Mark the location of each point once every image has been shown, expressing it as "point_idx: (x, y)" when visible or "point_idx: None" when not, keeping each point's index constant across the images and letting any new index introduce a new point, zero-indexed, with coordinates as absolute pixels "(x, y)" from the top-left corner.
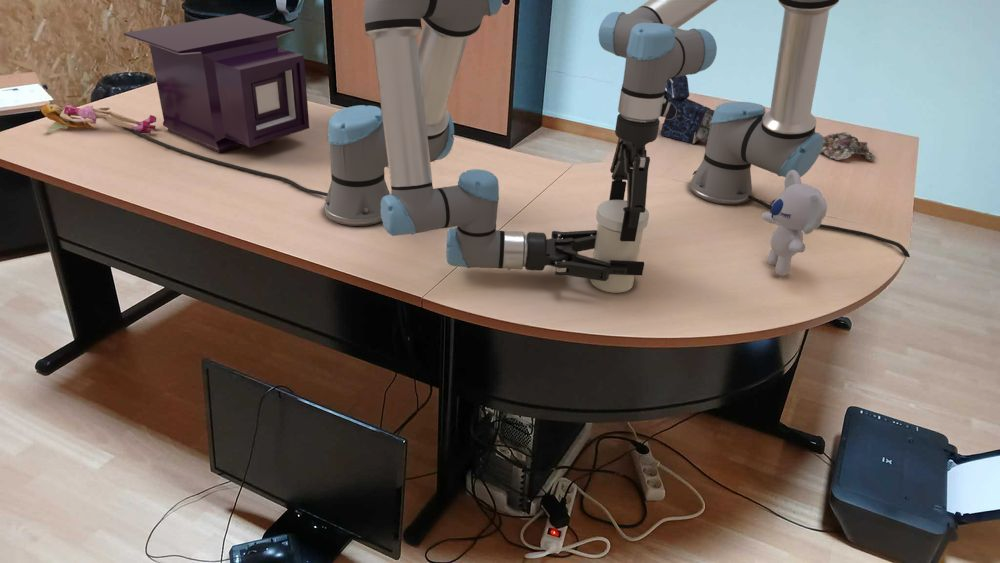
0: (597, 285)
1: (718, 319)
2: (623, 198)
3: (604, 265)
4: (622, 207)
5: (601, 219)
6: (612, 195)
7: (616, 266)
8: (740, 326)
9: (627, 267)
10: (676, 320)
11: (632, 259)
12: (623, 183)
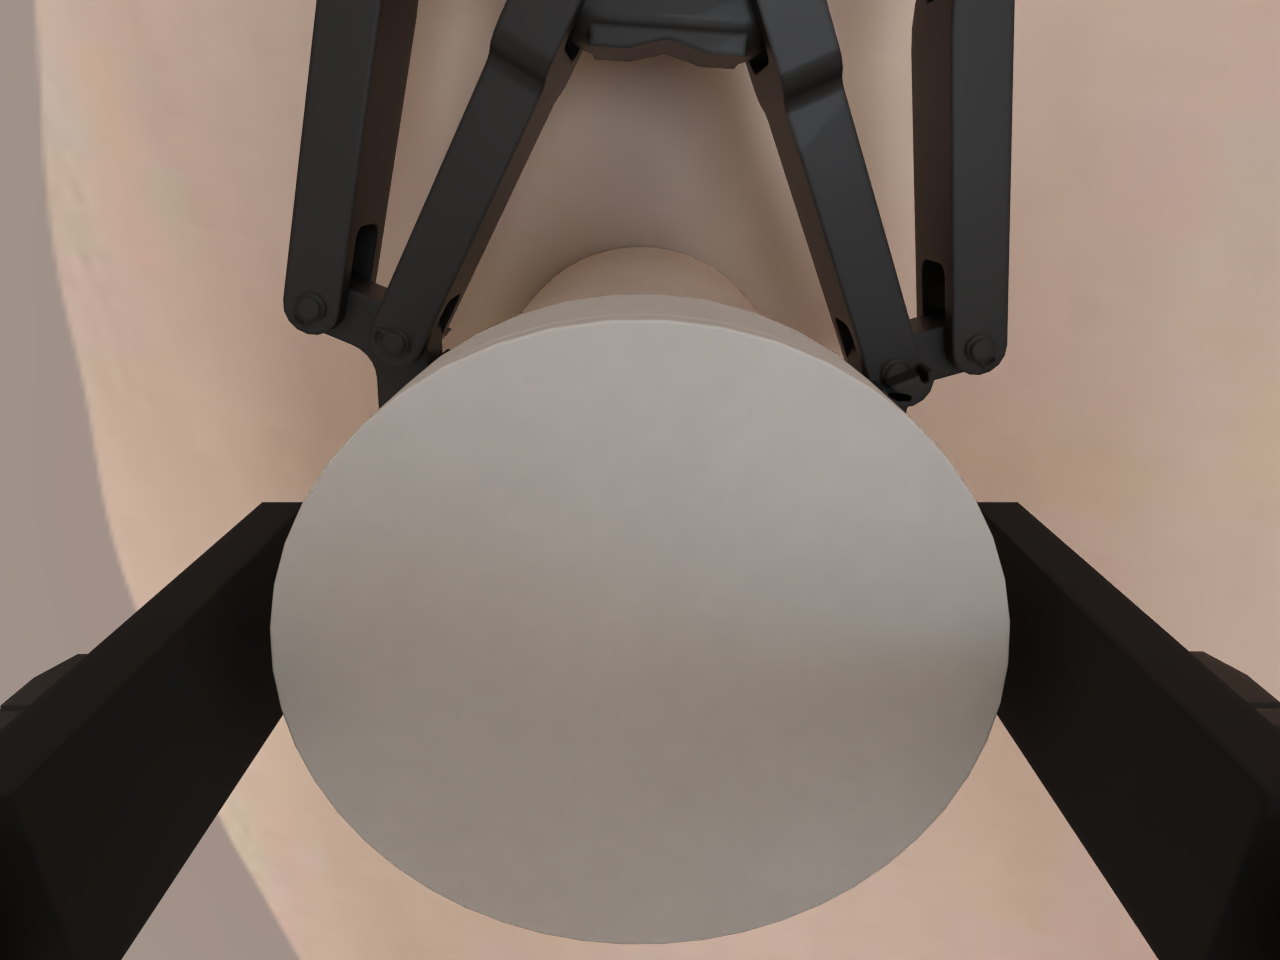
0: (551, 279)
1: (318, 811)
2: (1031, 762)
3: (377, 312)
4: (748, 699)
5: (476, 342)
6: (1090, 647)
7: None
8: (279, 875)
9: None
10: None
11: None
12: (1194, 951)
